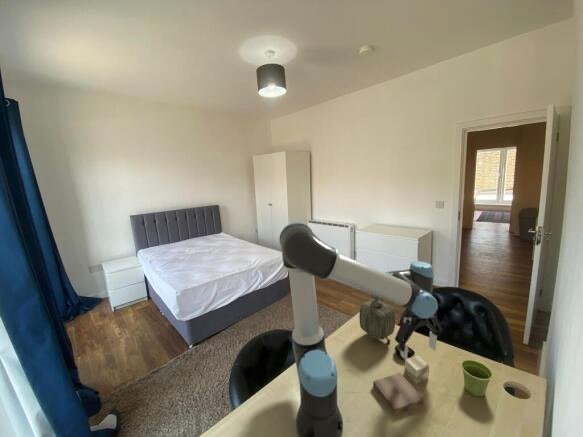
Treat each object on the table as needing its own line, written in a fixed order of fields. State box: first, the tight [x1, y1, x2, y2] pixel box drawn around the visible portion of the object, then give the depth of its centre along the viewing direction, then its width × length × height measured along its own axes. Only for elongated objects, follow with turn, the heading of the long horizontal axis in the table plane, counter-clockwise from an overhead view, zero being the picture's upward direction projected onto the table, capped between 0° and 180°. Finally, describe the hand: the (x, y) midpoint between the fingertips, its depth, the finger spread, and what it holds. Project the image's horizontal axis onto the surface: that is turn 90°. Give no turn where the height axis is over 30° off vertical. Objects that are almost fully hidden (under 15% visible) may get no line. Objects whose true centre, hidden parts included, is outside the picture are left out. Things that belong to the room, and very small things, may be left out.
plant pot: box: [460, 359, 494, 397], centre depth 91 cm, size 9×9×9 cm
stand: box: [372, 372, 425, 417], centre depth 91 cm, size 12×12×2 cm
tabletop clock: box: [358, 294, 396, 344], centre depth 119 cm, size 14×9×25 cm, turn 34°
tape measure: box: [394, 343, 416, 360], centre depth 110 cm, size 7×7×4 cm
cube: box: [404, 355, 430, 384], centre depth 99 cm, size 6×6×6 cm
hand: (418, 352), depth 97 cm, fingers open, 13 cm apart
